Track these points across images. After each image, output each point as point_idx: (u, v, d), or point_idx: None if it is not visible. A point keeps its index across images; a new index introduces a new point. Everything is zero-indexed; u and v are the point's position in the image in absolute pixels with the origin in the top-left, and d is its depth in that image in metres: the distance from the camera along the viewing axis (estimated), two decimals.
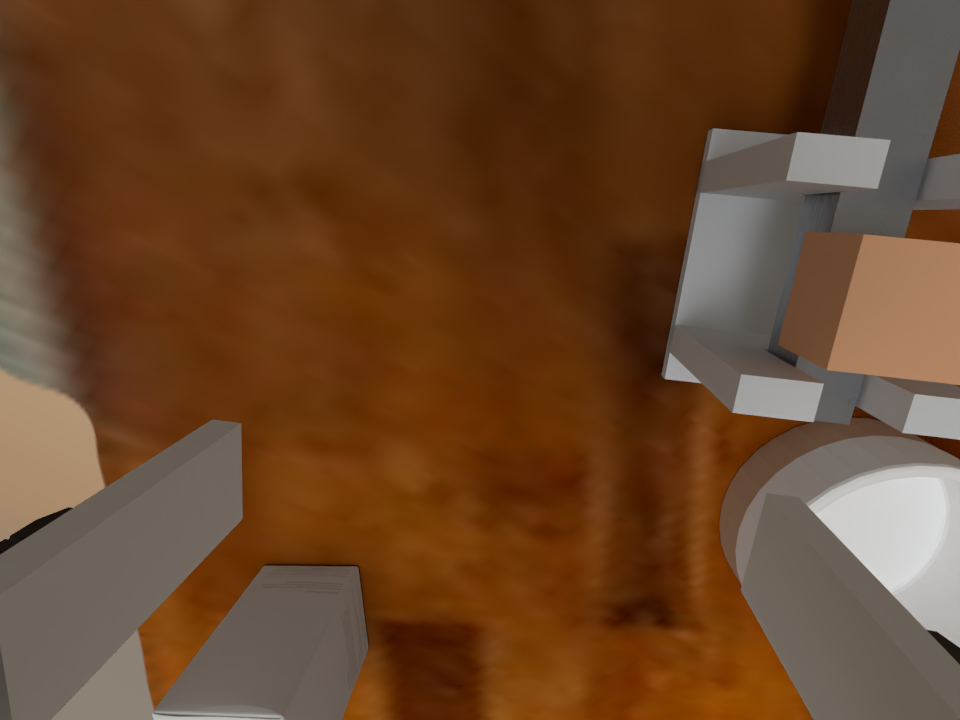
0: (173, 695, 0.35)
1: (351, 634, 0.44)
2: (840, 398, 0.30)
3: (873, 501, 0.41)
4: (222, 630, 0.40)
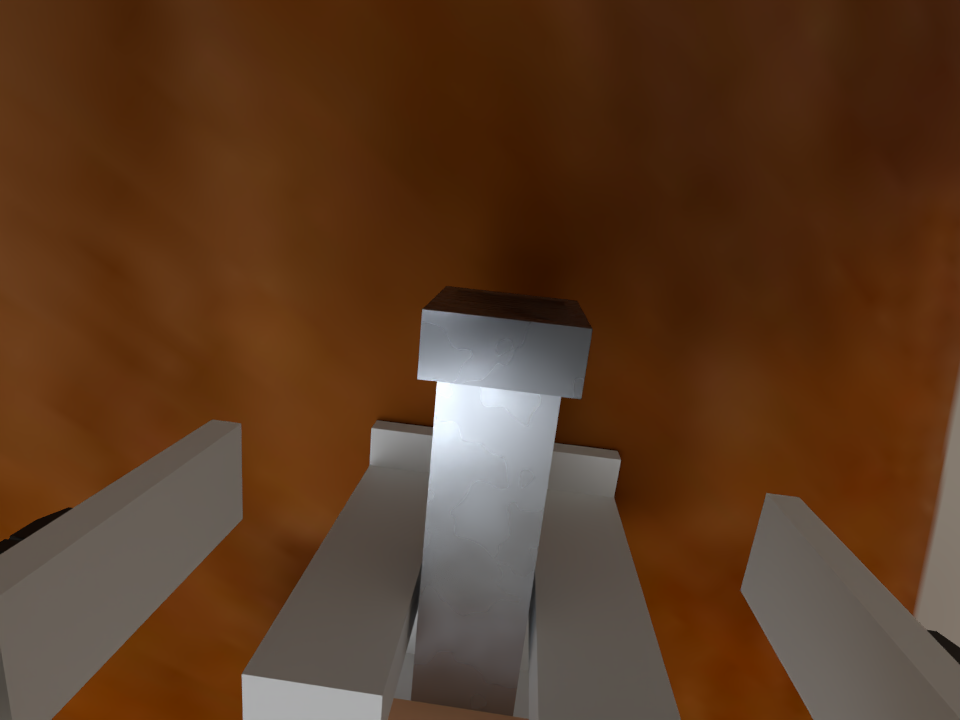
0: None
1: None
2: None
3: None
4: None
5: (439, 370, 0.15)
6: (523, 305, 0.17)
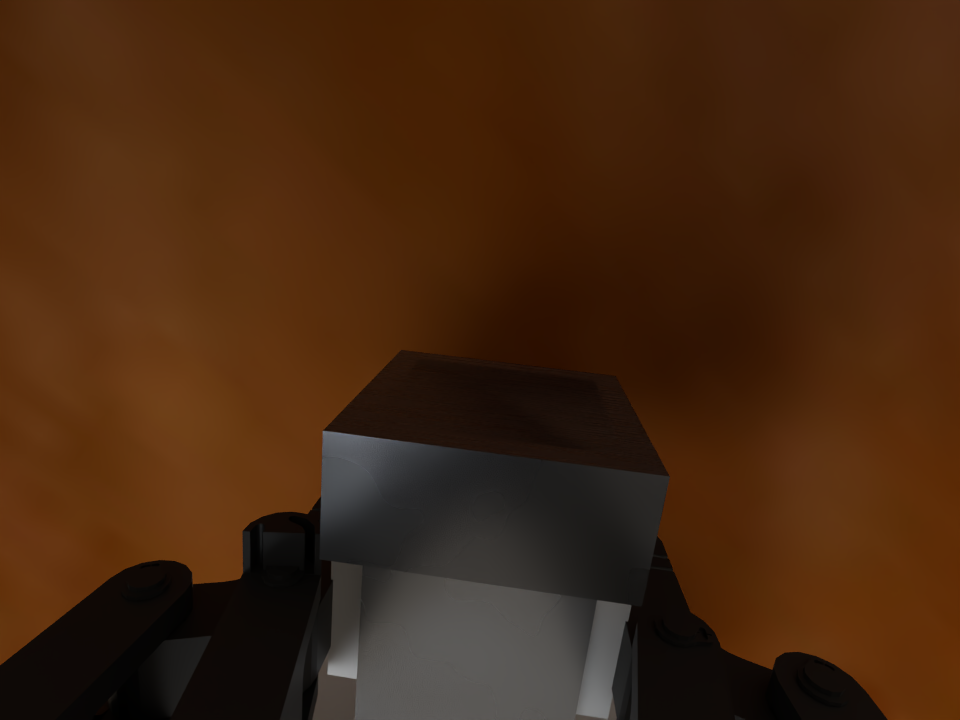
0: None
1: None
2: None
3: None
4: None
5: (361, 545, 0.08)
6: (527, 398, 0.09)
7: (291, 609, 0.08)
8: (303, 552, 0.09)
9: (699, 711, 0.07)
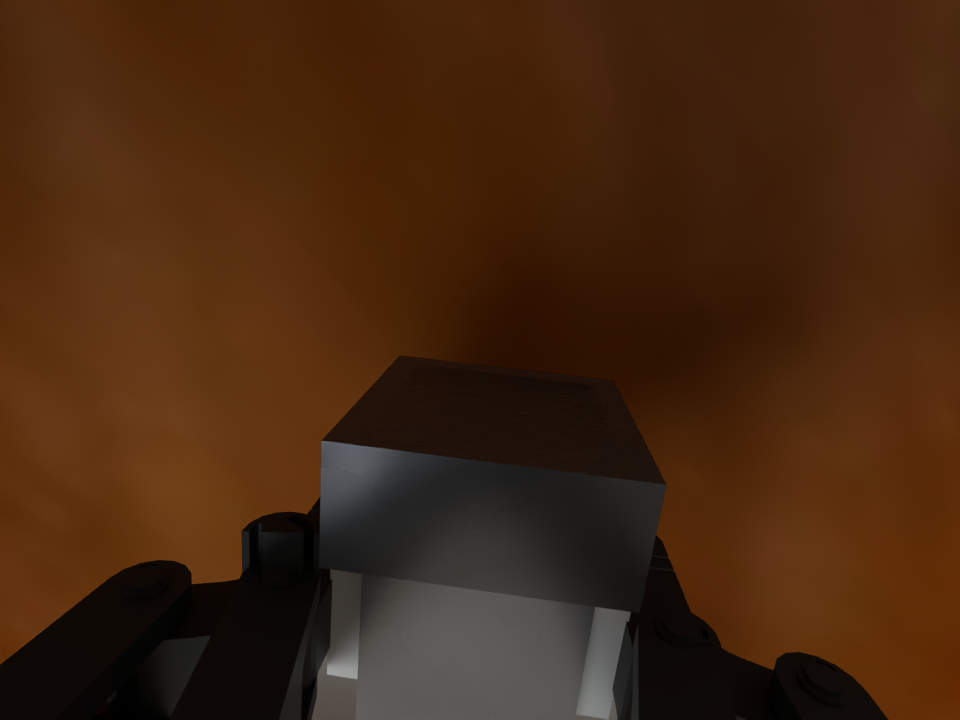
0: None
1: None
2: None
3: None
4: None
5: (360, 553, 0.08)
6: (525, 405, 0.09)
7: (290, 609, 0.08)
8: (302, 552, 0.09)
9: (700, 711, 0.07)
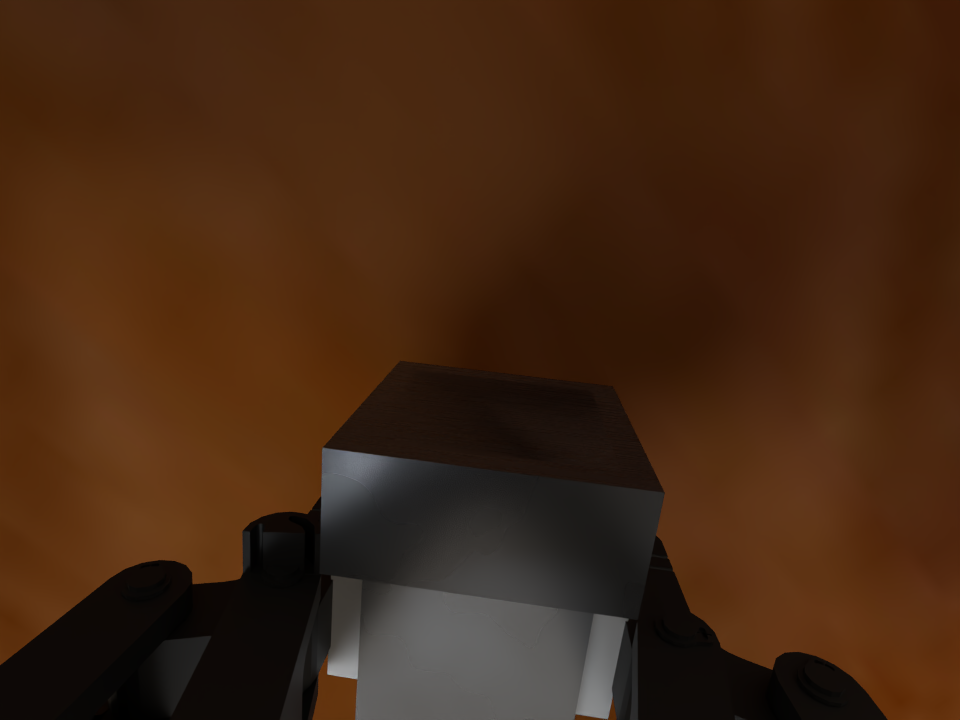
0: None
1: None
2: None
3: None
4: None
5: (361, 559, 0.08)
6: (524, 411, 0.09)
7: (291, 609, 0.08)
8: (303, 552, 0.09)
9: (699, 711, 0.07)
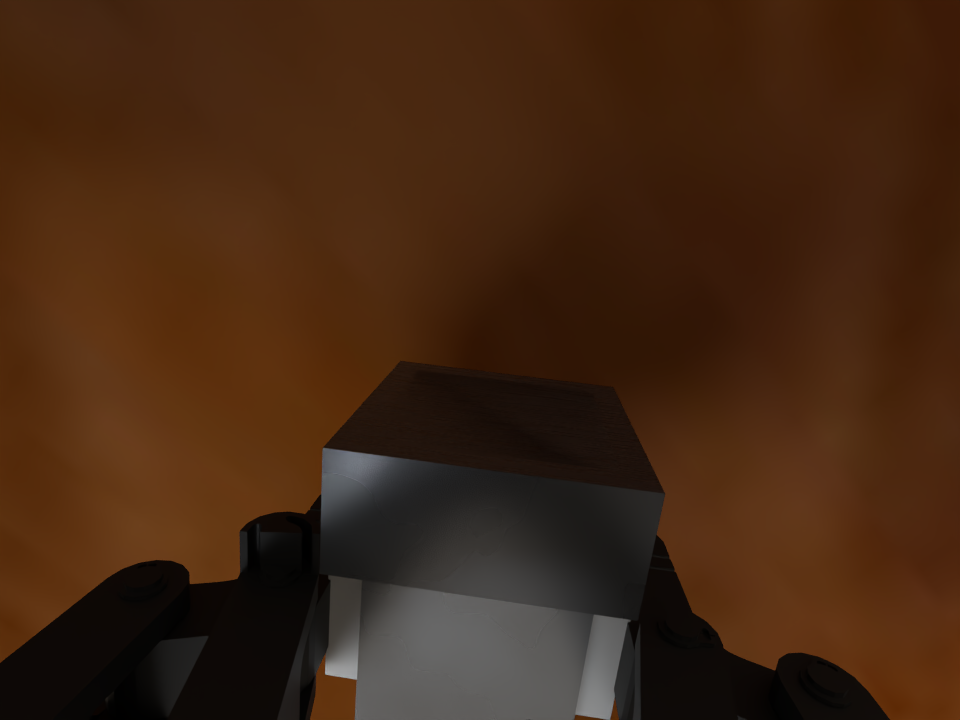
0: None
1: None
2: None
3: None
4: None
5: (361, 560, 0.08)
6: (524, 412, 0.09)
7: (288, 609, 0.08)
8: (300, 552, 0.09)
9: (702, 712, 0.07)
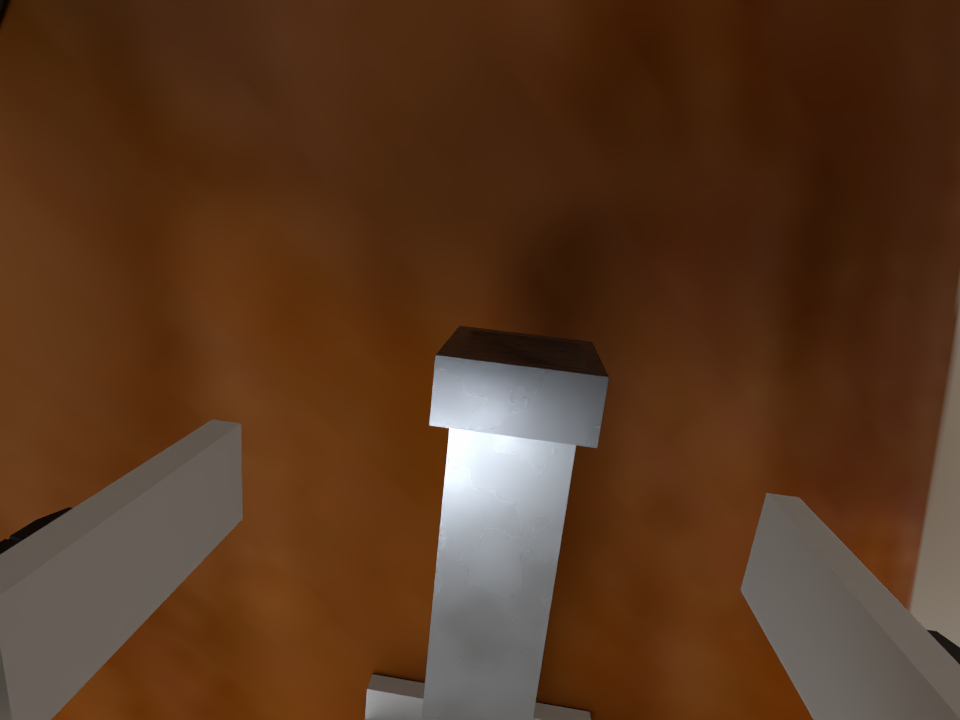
0: None
1: None
2: None
3: None
4: None
5: (452, 417, 0.15)
6: (537, 348, 0.17)
7: None
8: None
9: None
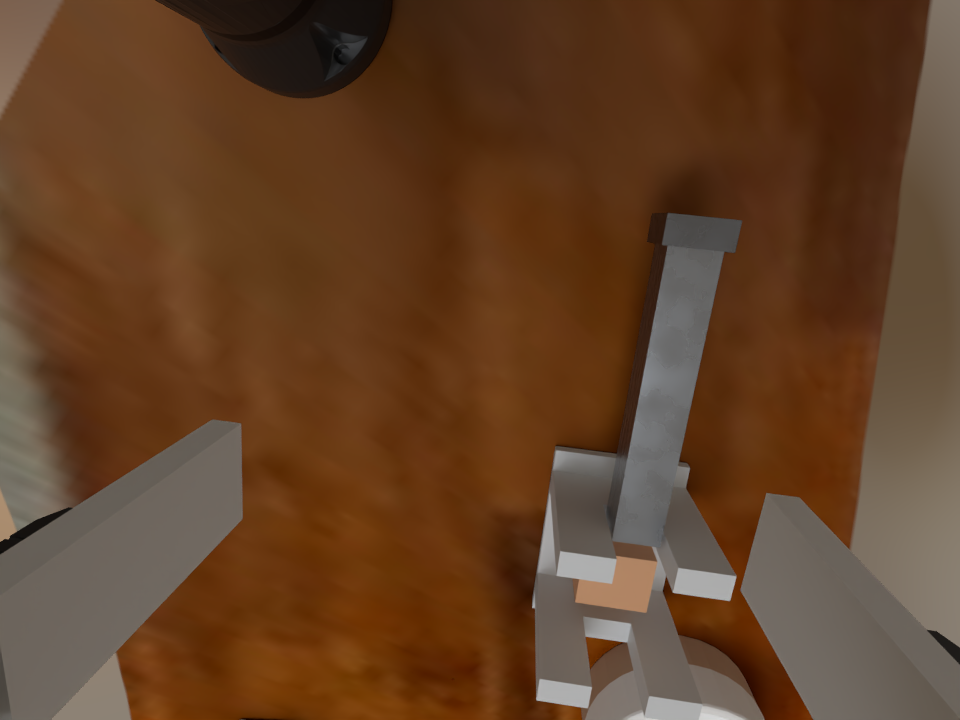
0: None
1: None
2: (652, 529, 0.40)
3: None
4: None
5: (672, 240, 0.35)
6: None
7: None
8: None
9: None
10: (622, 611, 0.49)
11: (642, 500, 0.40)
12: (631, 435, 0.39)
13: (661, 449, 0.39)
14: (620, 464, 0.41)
